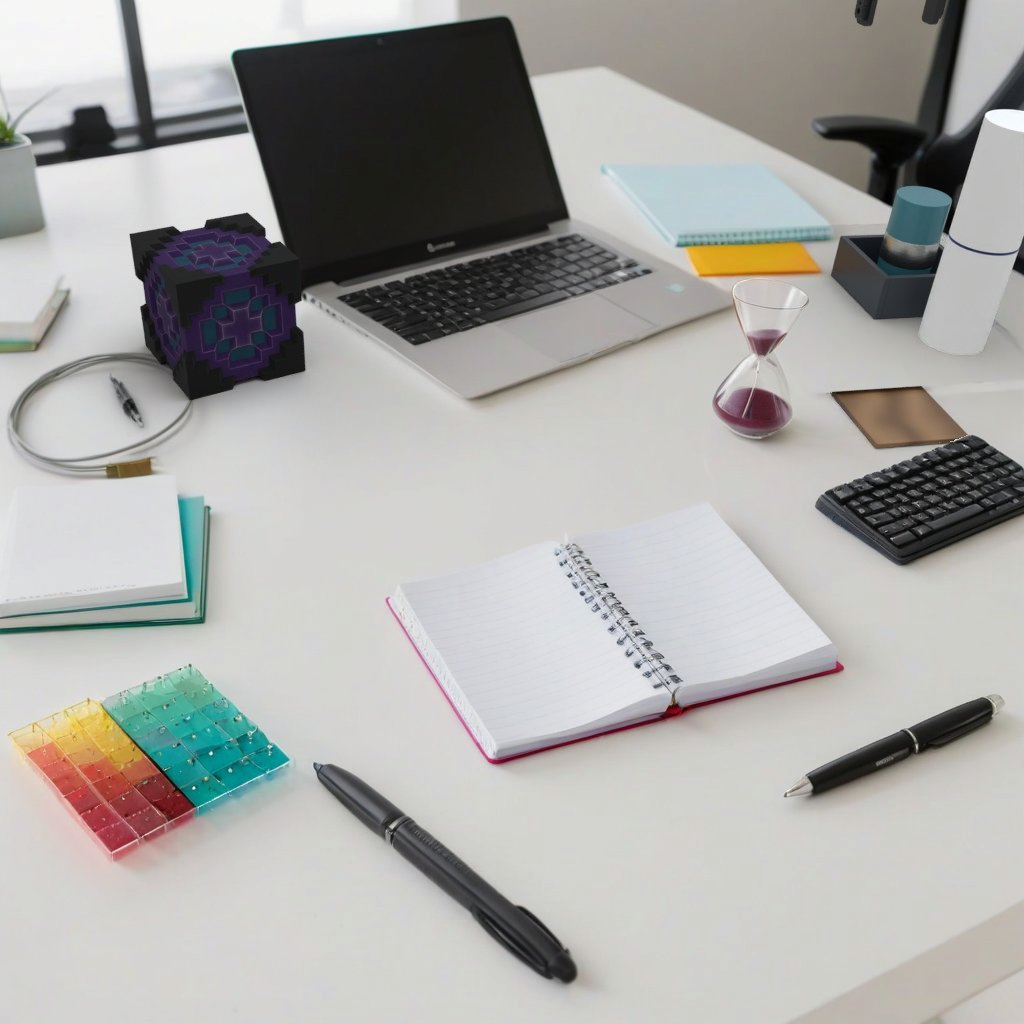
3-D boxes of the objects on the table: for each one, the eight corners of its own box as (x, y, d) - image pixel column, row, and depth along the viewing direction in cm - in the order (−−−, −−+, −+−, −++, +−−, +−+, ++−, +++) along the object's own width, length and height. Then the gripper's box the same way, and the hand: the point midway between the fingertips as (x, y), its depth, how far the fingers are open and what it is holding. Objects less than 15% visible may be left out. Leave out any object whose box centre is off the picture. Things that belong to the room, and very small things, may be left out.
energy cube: (189, 400, 109) (175, 284, 102) (145, 345, 117) (129, 233, 110) (305, 370, 115) (299, 258, 108) (256, 319, 123) (247, 212, 116)
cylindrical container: (916, 356, 125) (988, 127, 110) (914, 327, 131) (982, 105, 116) (984, 367, 124) (1066, 138, 109) (979, 337, 130) (1056, 115, 115)
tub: (913, 278, 142) (927, 232, 138) (961, 322, 133) (977, 274, 129) (828, 282, 139) (840, 235, 136) (871, 327, 130) (885, 278, 127)
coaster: (918, 388, 120) (920, 384, 120) (969, 441, 112) (970, 437, 112) (830, 394, 118) (831, 390, 118) (875, 448, 110) (877, 444, 110)
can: (906, 281, 138) (935, 185, 131) (932, 305, 134) (962, 206, 126) (860, 283, 137) (886, 186, 130) (884, 307, 132) (912, 207, 125)
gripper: (897, -137, 114) (859, 34, 124) (1016, -135, 118) (970, 31, 128) (857, -148, 120) (823, 17, 130) (971, -146, 124) (931, 14, 134)
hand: (896, 23), depth 129 cm, fingers open, 8 cm apart
